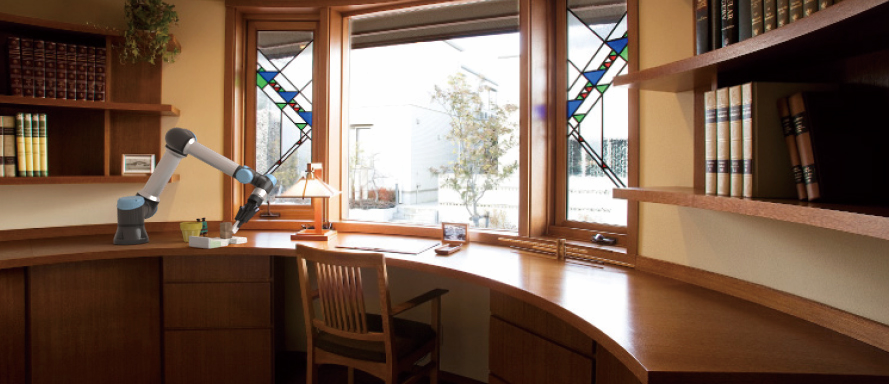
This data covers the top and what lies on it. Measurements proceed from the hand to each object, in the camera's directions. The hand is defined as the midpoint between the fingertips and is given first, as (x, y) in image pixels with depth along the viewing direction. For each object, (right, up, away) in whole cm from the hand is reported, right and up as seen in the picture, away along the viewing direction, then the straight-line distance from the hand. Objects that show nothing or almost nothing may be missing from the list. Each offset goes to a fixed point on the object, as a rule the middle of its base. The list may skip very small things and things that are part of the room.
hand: (232, 232), depth 259 cm
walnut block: (-2, -3, -2) cm, 5 cm away
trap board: (-4, -6, -5) cm, 9 cm away
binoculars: (-28, -4, +21) cm, 36 cm away
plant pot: (-23, -5, +3) cm, 24 cm away
